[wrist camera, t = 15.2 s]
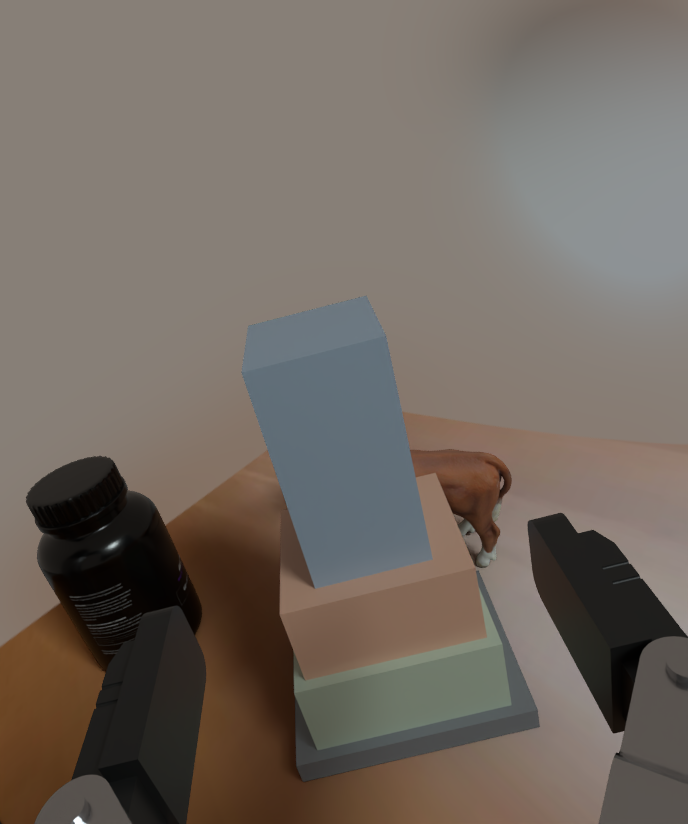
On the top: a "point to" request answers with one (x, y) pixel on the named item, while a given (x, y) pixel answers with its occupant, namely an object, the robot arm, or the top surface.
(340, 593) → the brick tower
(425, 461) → the bull figurine
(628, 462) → the top surface
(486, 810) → the top surface
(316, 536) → the column brick
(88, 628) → the supplement bottle
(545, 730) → the top surface
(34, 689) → the top surface
